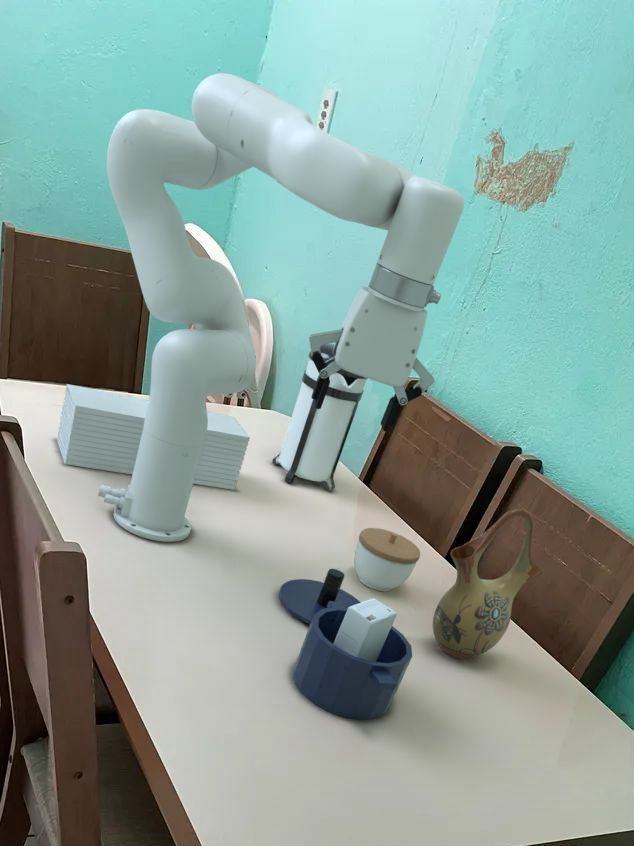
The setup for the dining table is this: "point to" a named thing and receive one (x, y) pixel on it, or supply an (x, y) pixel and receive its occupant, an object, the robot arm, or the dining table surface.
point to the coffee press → (320, 424)
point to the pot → (348, 669)
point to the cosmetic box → (365, 629)
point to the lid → (314, 595)
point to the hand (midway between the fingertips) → (350, 417)
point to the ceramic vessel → (481, 595)
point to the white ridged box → (139, 436)
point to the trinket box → (384, 558)
